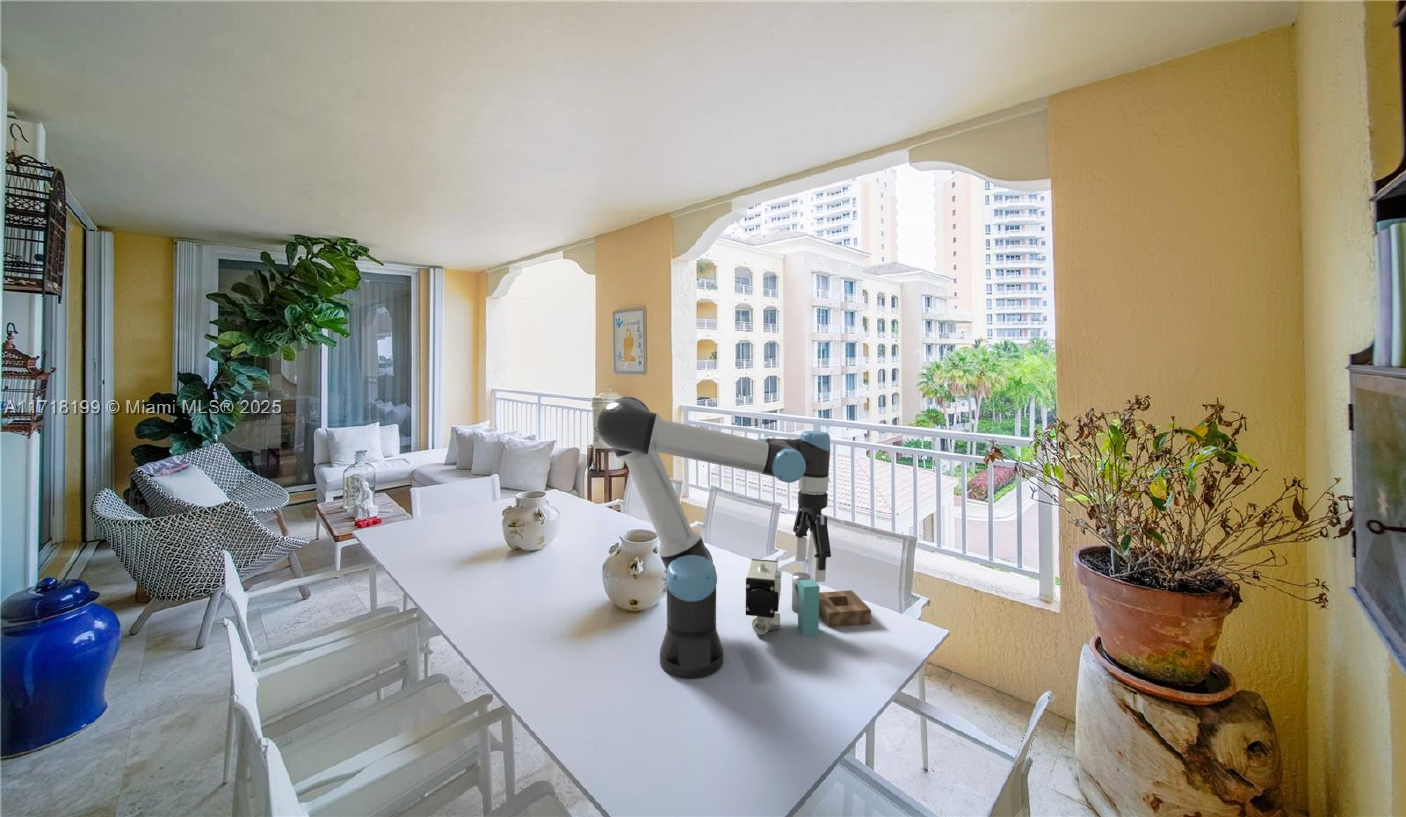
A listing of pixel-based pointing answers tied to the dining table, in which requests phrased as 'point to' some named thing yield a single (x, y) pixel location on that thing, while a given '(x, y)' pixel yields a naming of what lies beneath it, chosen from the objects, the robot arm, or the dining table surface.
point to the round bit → (795, 580)
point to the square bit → (808, 607)
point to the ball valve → (763, 595)
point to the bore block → (843, 609)
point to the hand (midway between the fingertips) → (809, 570)
